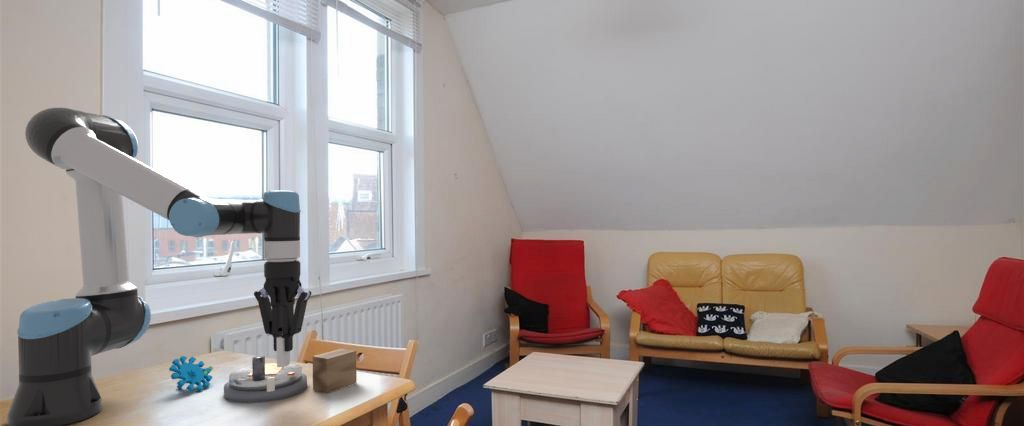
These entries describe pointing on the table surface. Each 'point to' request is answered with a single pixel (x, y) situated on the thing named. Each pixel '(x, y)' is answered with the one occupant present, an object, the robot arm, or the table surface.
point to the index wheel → (264, 375)
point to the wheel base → (265, 391)
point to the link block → (334, 370)
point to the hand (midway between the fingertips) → (283, 365)
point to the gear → (191, 373)
